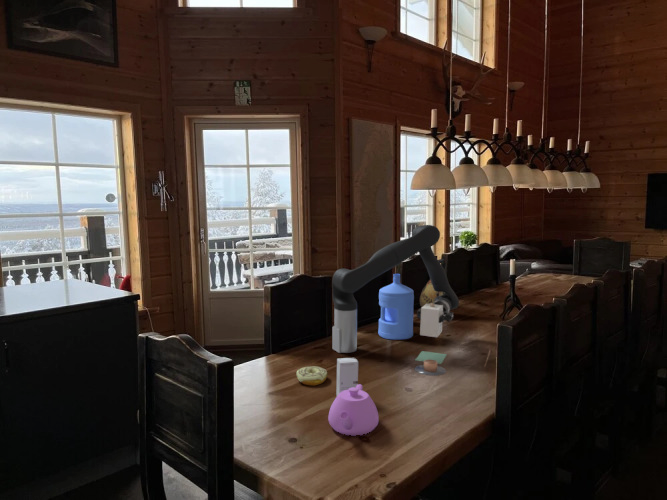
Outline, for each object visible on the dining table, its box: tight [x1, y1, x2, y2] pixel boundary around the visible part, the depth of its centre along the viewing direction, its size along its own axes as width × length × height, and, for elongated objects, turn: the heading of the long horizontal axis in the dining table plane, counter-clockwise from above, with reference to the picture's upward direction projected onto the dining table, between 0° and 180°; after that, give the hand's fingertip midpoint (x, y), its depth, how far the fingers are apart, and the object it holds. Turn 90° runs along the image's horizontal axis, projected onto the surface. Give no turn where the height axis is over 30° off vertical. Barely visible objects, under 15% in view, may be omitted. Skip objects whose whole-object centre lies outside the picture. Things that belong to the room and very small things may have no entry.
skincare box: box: [335, 357, 359, 397], centre depth 152 cm, size 6×4×12 cm
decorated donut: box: [296, 365, 328, 386], centre depth 167 cm, size 10×11×4 cm
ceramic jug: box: [419, 258, 446, 309], centre depth 257 cm, size 17×15×30 cm
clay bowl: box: [423, 360, 438, 372], centre depth 176 cm, size 5×5×3 cm
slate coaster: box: [414, 364, 447, 377], centre depth 176 cm, size 11×11×1 cm
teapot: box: [327, 383, 380, 437], centre depth 133 cm, size 14×20×11 cm
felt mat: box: [414, 350, 447, 365], centre depth 190 cm, size 12×10×1 cm
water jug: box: [377, 273, 415, 341], centre depth 219 cm, size 16×16×28 cm
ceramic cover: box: [419, 303, 443, 338], centre depth 188 cm, size 9×7×12 cm
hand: (430, 319), depth 186 cm, fingers closed on ceramic cover, 6 cm apart
